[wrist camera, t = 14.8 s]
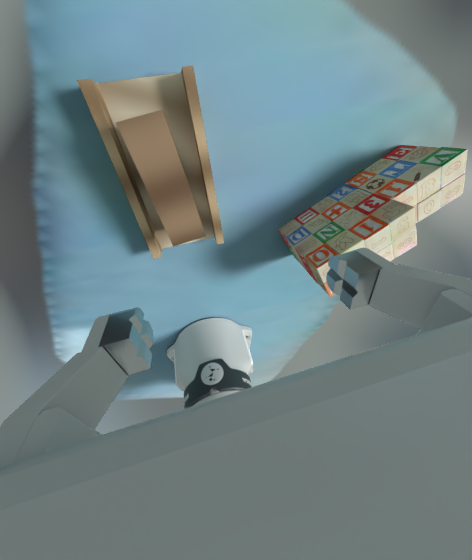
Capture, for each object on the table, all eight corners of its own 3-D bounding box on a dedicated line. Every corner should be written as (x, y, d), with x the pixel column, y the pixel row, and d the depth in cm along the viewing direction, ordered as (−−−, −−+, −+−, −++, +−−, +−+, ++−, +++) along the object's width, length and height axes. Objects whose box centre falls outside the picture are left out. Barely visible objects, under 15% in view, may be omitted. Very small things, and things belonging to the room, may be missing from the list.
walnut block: (127, 123, 22) (115, 122, 17) (164, 112, 22) (162, 109, 18) (173, 227, 30) (173, 246, 25) (200, 218, 30) (205, 236, 25)
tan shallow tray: (220, 234, 32) (224, 242, 30) (155, 248, 31) (153, 258, 29) (190, 72, 21) (192, 65, 19) (88, 85, 20) (77, 80, 18)
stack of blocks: (400, 142, 31) (503, 150, 21) (402, 180, 35) (491, 201, 25) (276, 229, 34) (316, 270, 25) (291, 255, 38) (330, 299, 29)
